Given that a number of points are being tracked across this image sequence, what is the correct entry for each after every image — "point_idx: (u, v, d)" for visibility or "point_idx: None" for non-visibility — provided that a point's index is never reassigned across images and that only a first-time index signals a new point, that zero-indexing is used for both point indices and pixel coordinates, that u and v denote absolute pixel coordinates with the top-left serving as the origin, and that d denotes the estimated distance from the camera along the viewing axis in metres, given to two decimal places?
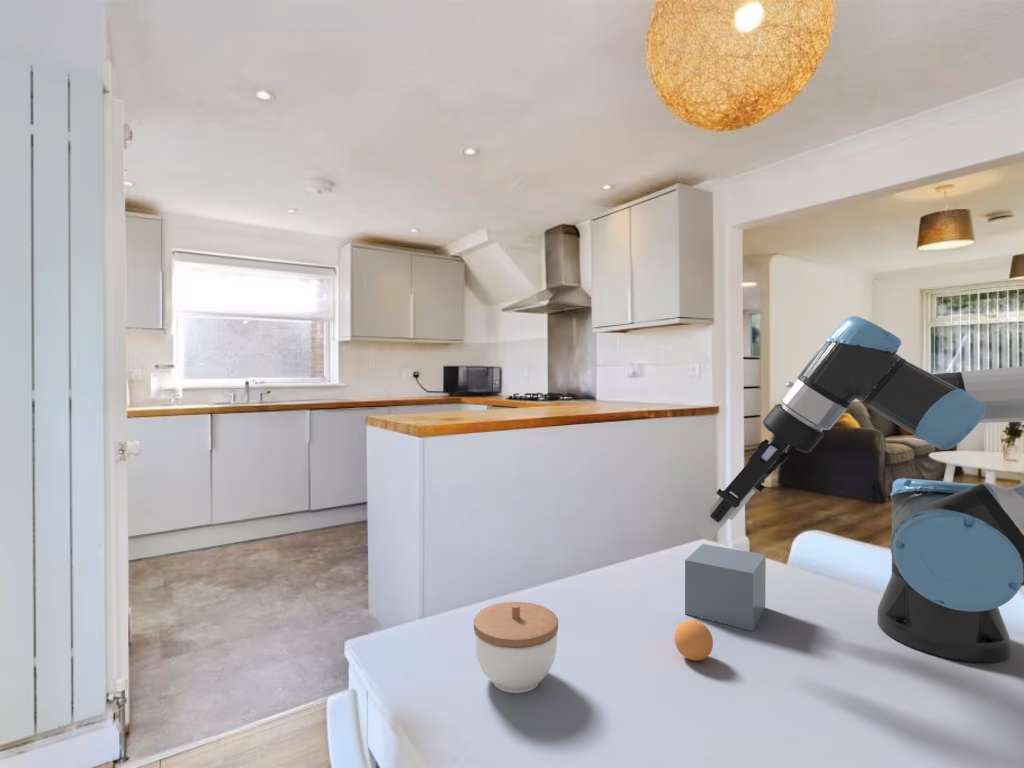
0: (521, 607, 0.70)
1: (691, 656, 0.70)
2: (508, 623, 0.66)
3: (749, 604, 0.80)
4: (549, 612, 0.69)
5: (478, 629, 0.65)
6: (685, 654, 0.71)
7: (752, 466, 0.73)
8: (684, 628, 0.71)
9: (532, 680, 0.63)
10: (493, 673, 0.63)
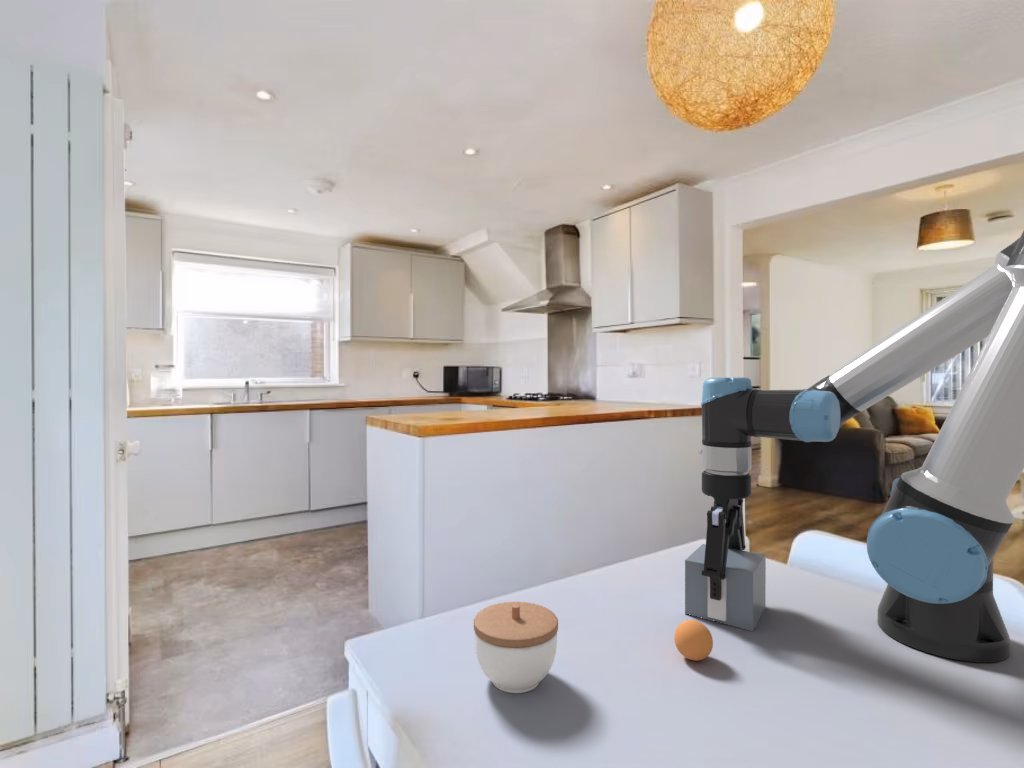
0: (521, 607, 0.70)
1: (691, 656, 0.70)
2: (508, 623, 0.66)
3: (749, 604, 0.80)
4: (549, 612, 0.69)
5: (478, 629, 0.65)
6: (685, 654, 0.71)
7: (711, 536, 0.81)
8: (684, 628, 0.71)
9: (532, 680, 0.63)
10: (493, 673, 0.63)
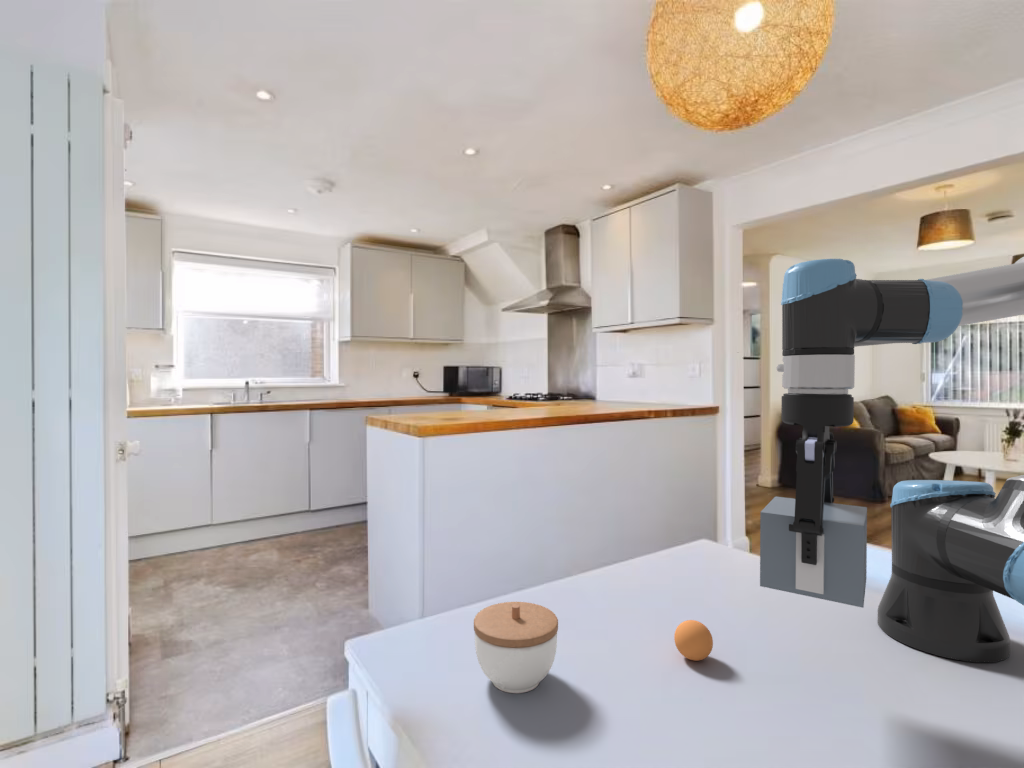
0: (521, 607, 0.70)
1: (691, 656, 0.70)
2: (508, 623, 0.66)
3: (858, 570, 0.57)
4: (549, 612, 0.69)
5: (478, 629, 0.65)
6: (685, 654, 0.71)
7: (804, 475, 0.58)
8: (684, 628, 0.71)
9: (532, 680, 0.63)
10: (493, 673, 0.63)
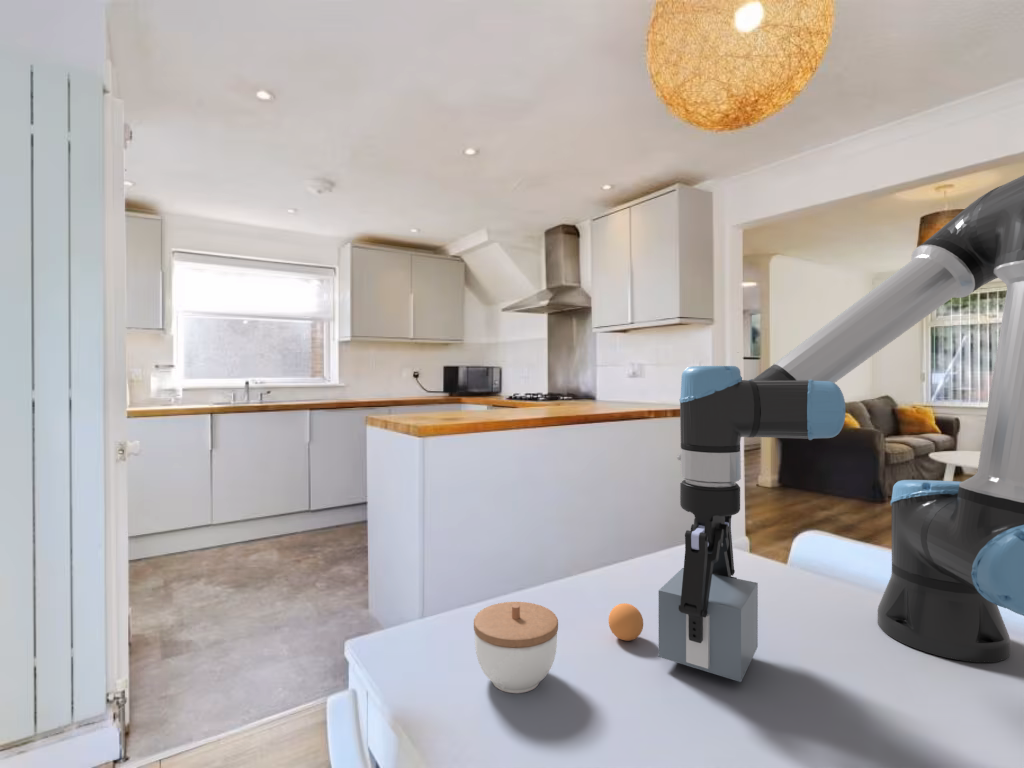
0: (521, 607, 0.70)
1: (613, 620, 0.76)
2: (508, 623, 0.66)
3: (736, 648, 0.64)
4: (549, 612, 0.69)
5: (478, 629, 0.65)
6: (617, 618, 0.76)
7: (690, 563, 0.65)
8: (634, 635, 0.75)
9: (532, 680, 0.63)
10: (493, 673, 0.63)
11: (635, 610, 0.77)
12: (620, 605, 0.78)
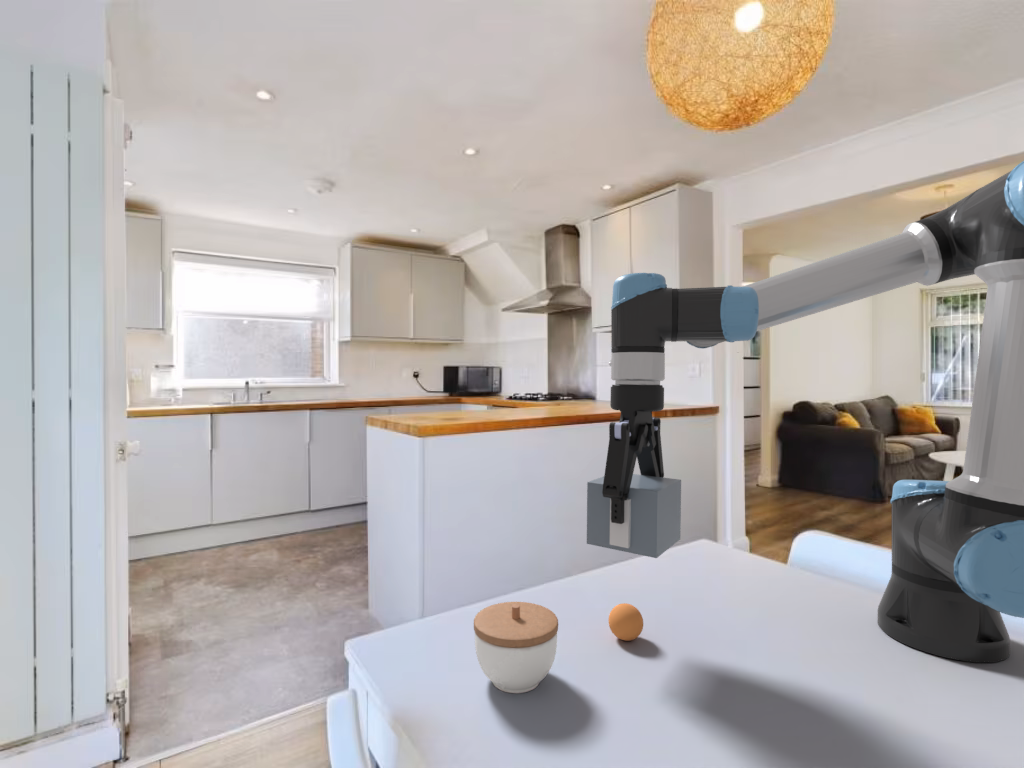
0: (521, 607, 0.70)
1: (613, 620, 0.76)
2: (508, 623, 0.66)
3: (653, 527, 0.70)
4: (549, 612, 0.69)
5: (478, 629, 0.65)
6: (617, 618, 0.76)
7: (613, 450, 0.71)
8: (634, 635, 0.75)
9: (532, 680, 0.63)
10: (493, 673, 0.63)
11: (635, 610, 0.77)
12: (620, 605, 0.78)
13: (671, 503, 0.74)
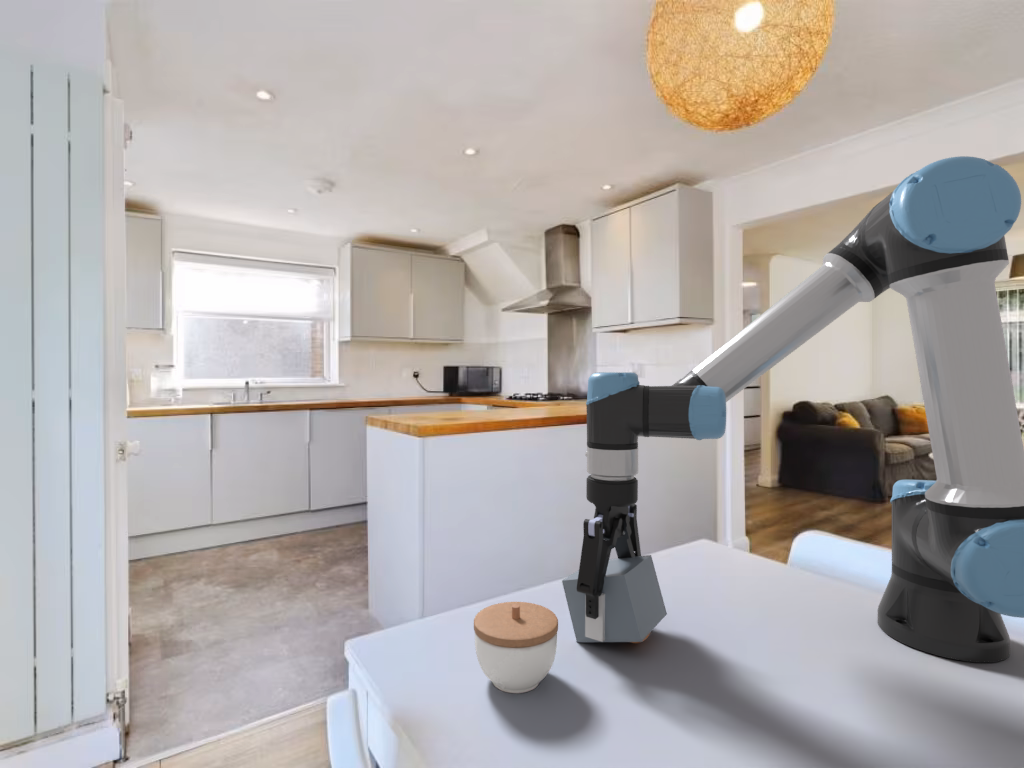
0: (521, 607, 0.70)
1: None
2: (508, 623, 0.66)
3: (630, 611, 0.72)
4: (549, 612, 0.69)
5: (478, 629, 0.65)
6: None
7: (587, 548, 0.73)
8: (637, 642, 0.75)
9: (532, 680, 0.63)
10: (493, 673, 0.63)
11: None
12: None
13: (645, 581, 0.77)
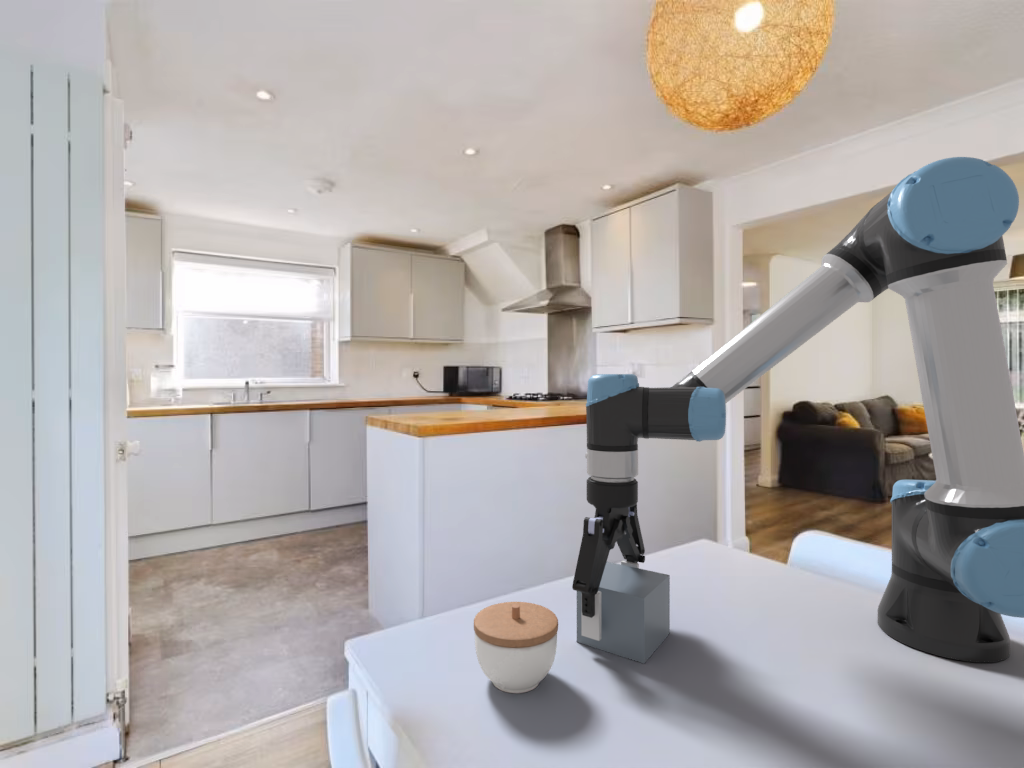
0: (521, 607, 0.70)
1: None
2: (508, 623, 0.66)
3: (640, 633, 0.71)
4: (549, 612, 0.69)
5: (478, 629, 0.65)
6: None
7: (585, 545, 0.73)
8: None
9: (532, 680, 0.63)
10: (493, 673, 0.63)
11: None
12: None
13: (659, 603, 0.76)
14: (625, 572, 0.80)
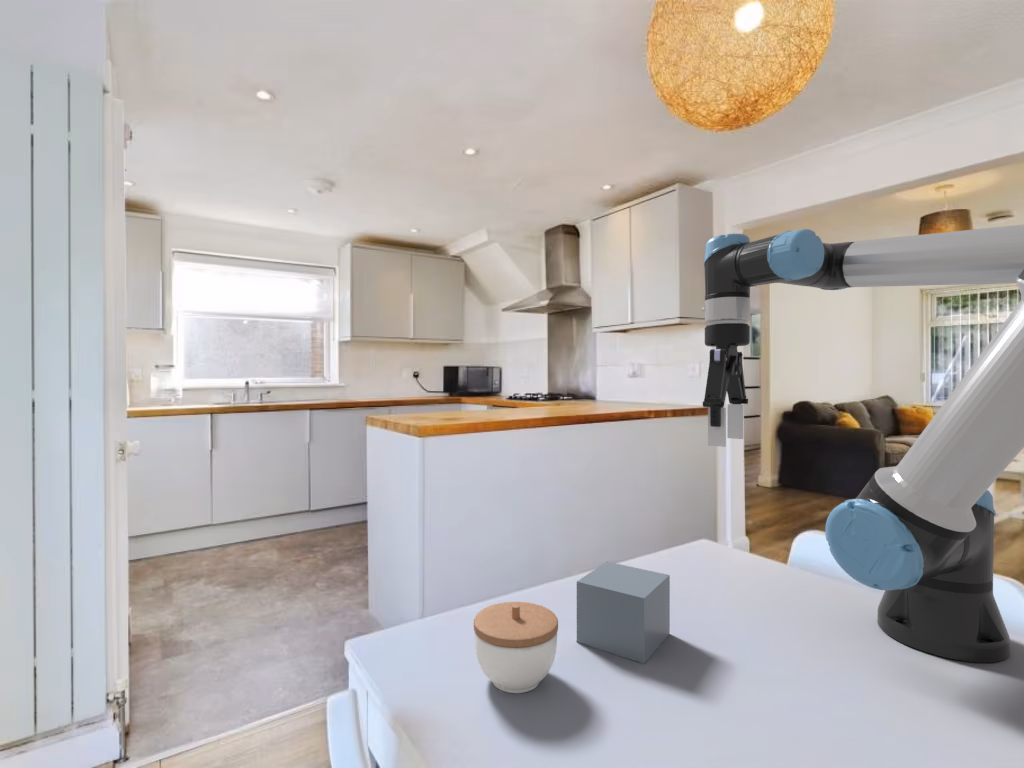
0: (521, 607, 0.70)
1: None
2: (508, 623, 0.66)
3: (640, 633, 0.71)
4: (549, 612, 0.69)
5: (478, 629, 0.65)
6: None
7: (713, 369, 0.89)
8: None
9: (532, 680, 0.63)
10: (493, 673, 0.63)
11: None
12: None
13: (659, 603, 0.76)
14: (625, 572, 0.80)
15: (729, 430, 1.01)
